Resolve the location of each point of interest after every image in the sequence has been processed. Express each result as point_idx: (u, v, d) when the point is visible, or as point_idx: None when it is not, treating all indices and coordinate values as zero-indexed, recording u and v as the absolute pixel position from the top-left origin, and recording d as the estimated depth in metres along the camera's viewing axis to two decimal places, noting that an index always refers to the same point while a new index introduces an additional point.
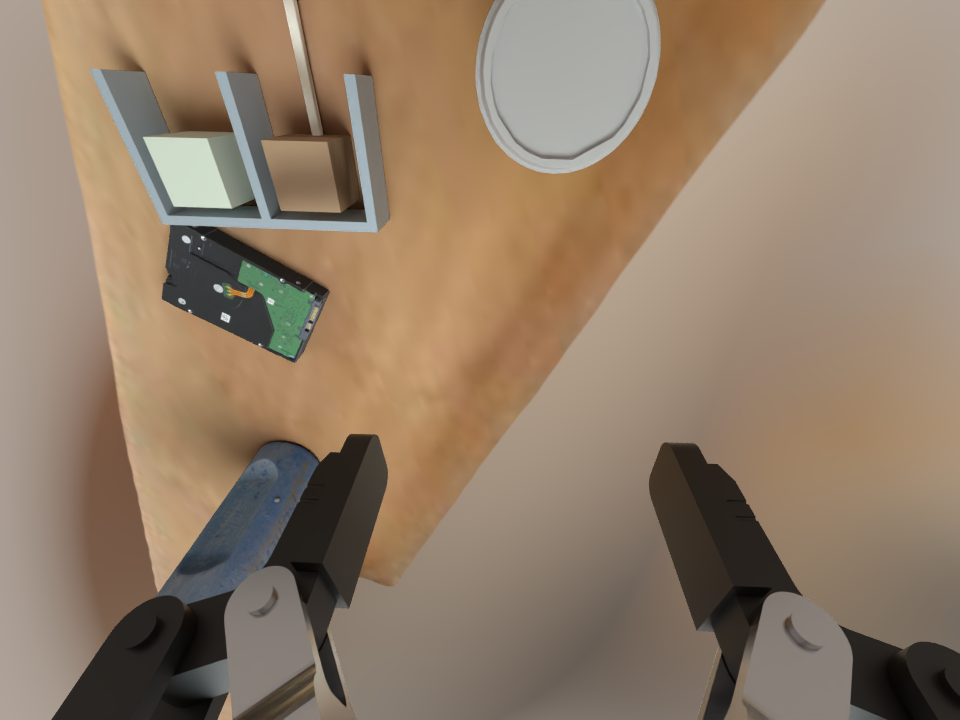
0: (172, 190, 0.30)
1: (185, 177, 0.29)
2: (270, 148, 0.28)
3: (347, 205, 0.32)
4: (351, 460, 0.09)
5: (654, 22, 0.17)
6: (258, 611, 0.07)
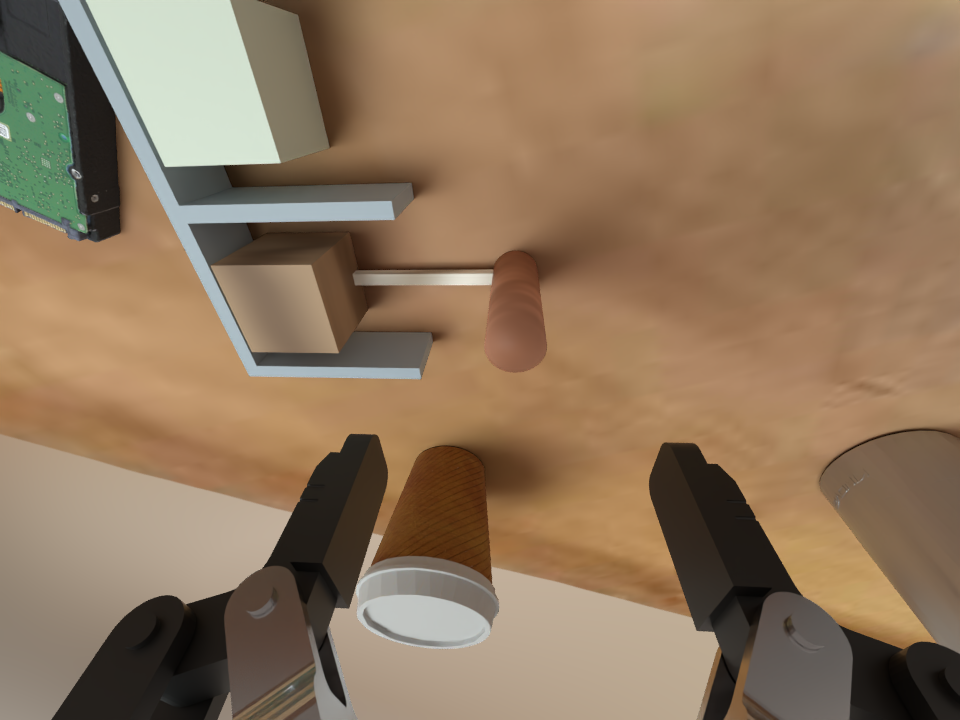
0: (128, 17, 0.13)
1: (180, 74, 0.13)
2: (304, 276, 0.18)
3: None
4: (351, 460, 0.09)
5: (458, 647, 0.26)
6: (258, 611, 0.07)
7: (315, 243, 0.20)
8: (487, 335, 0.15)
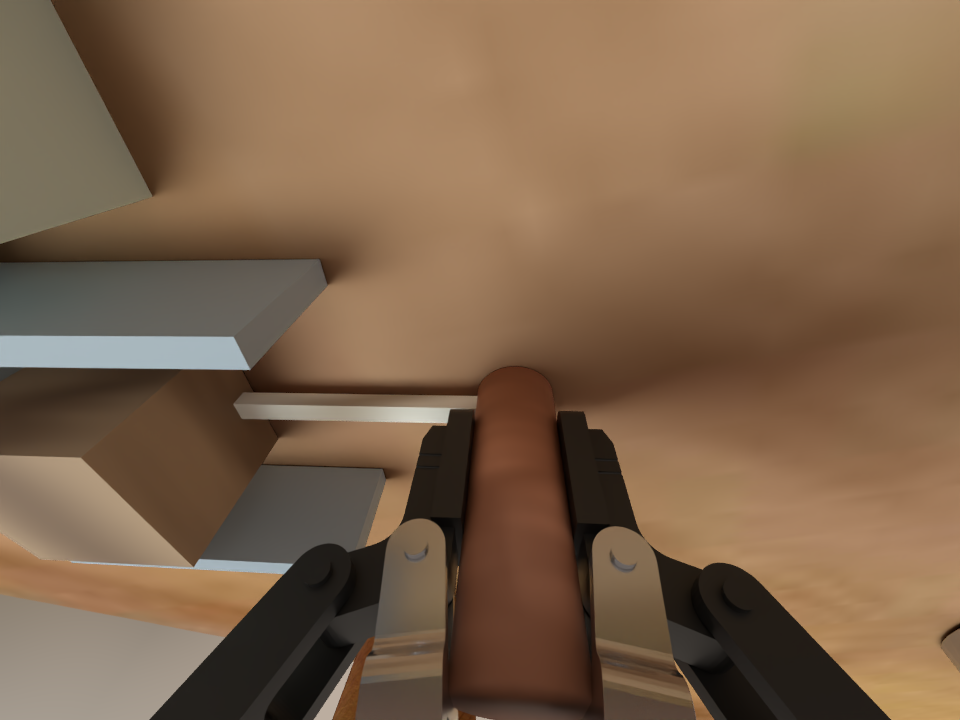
0: None
1: None
2: (76, 473, 0.08)
3: None
4: (460, 431, 0.10)
5: None
6: (417, 556, 0.07)
7: (142, 371, 0.11)
8: (451, 685, 0.06)
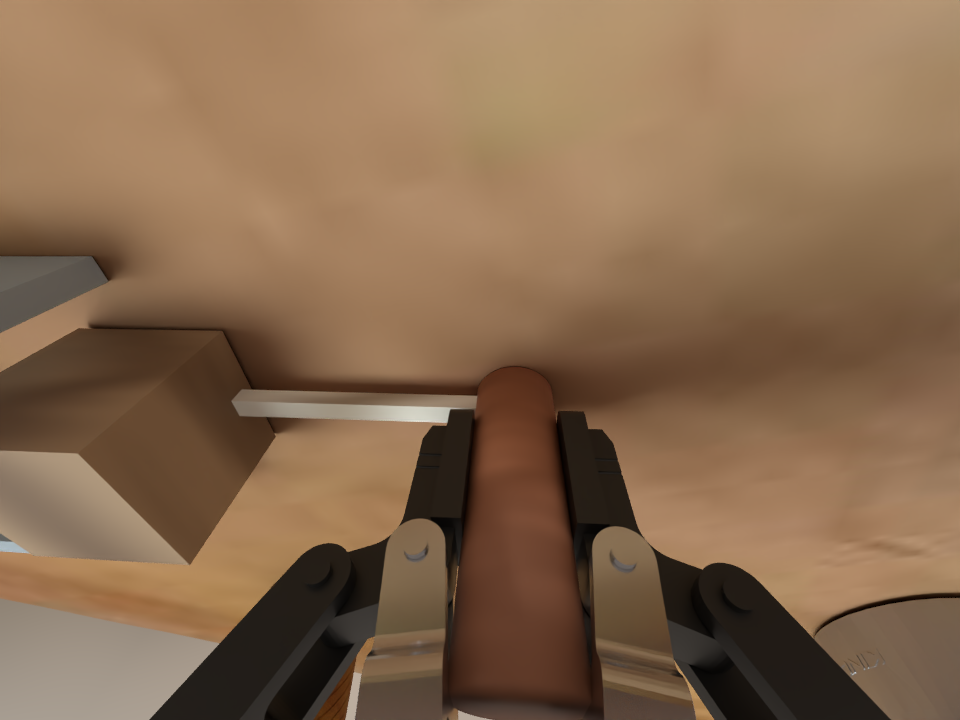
0: None
1: None
2: (72, 469, 0.08)
3: None
4: (460, 431, 0.10)
5: None
6: (418, 557, 0.07)
7: (140, 366, 0.11)
8: (451, 685, 0.06)
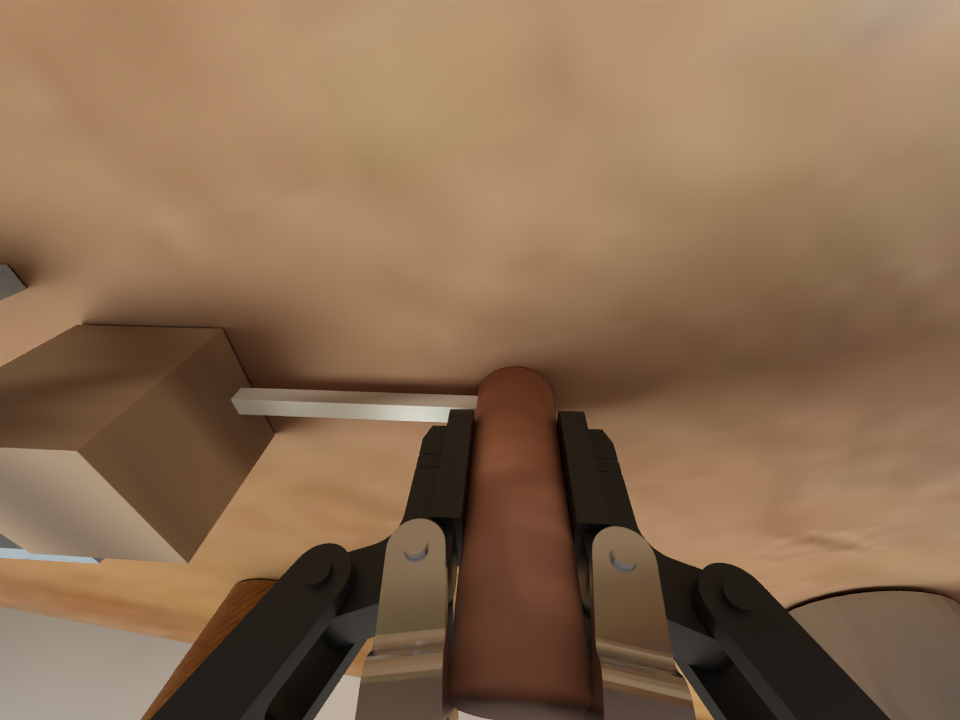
0: None
1: None
2: (71, 467, 0.08)
3: None
4: (460, 431, 0.10)
5: None
6: (418, 556, 0.07)
7: (139, 364, 0.10)
8: (452, 685, 0.06)
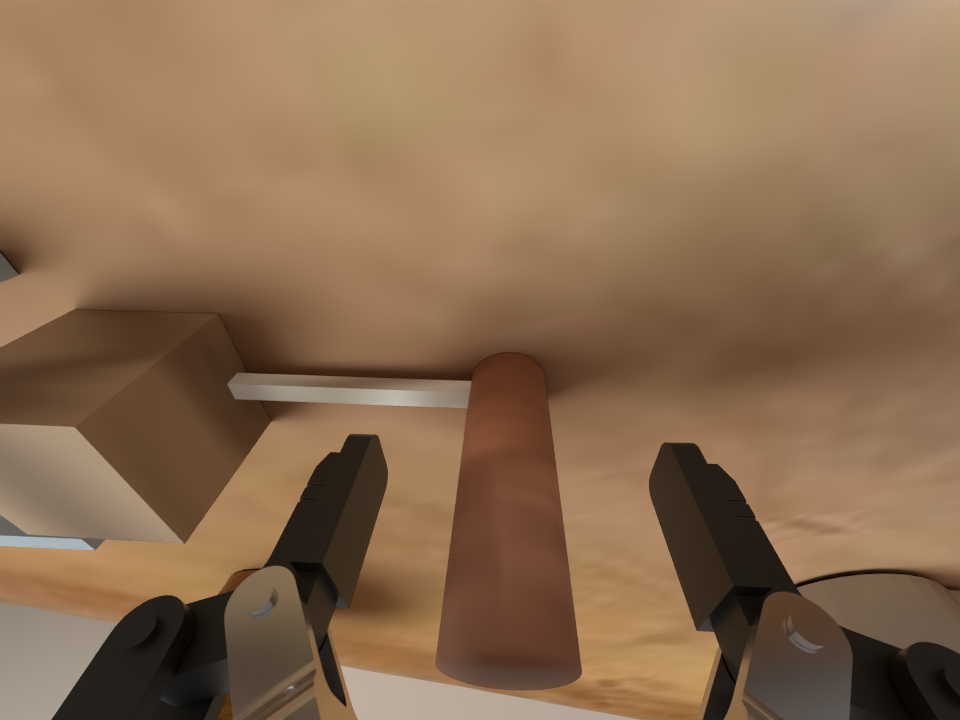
0: None
1: None
2: (69, 443, 0.08)
3: None
4: (351, 460, 0.09)
5: None
6: (258, 611, 0.07)
7: (136, 346, 0.11)
8: (441, 649, 0.06)
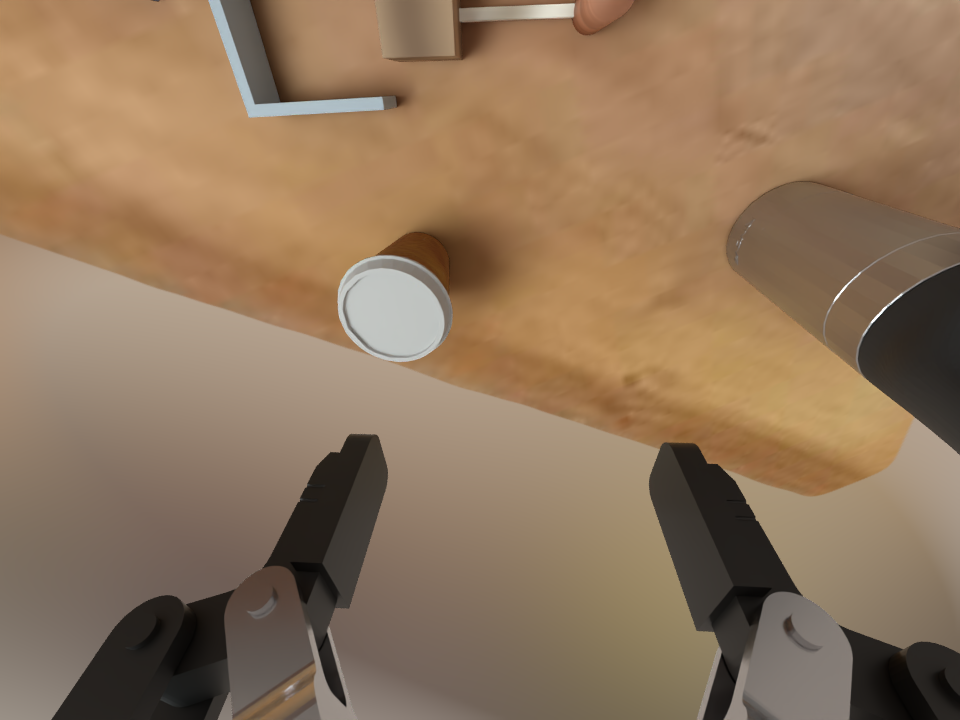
0: None
1: None
2: None
3: (391, 59, 0.27)
4: (351, 460, 0.09)
5: (421, 356, 0.32)
6: (258, 611, 0.07)
7: None
8: None
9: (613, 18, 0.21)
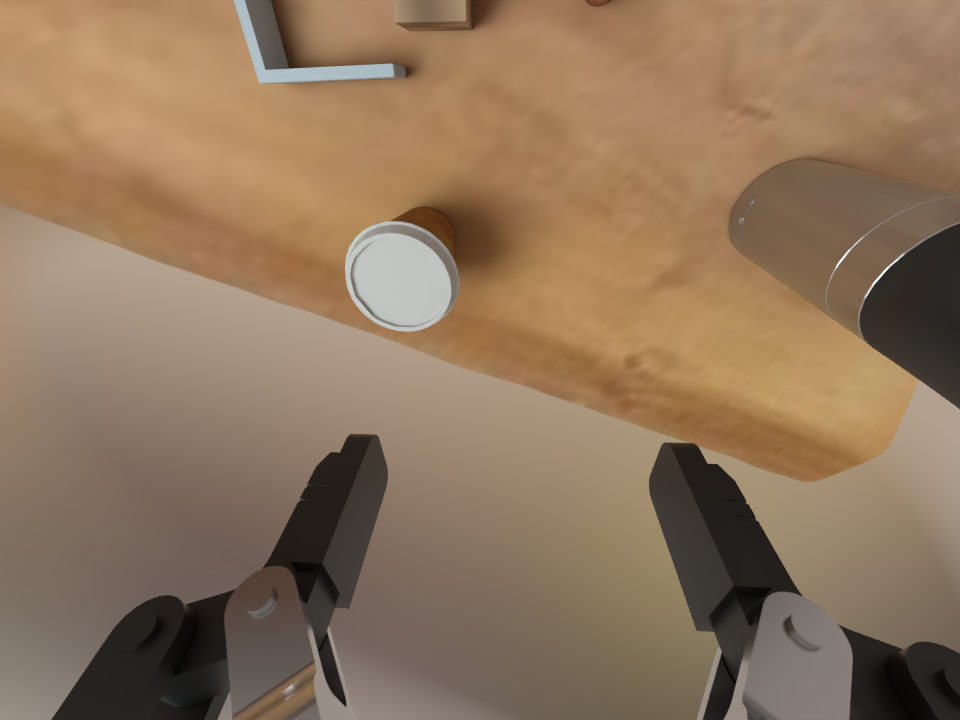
0: None
1: None
2: None
3: (402, 25, 0.27)
4: (351, 460, 0.09)
5: (427, 325, 0.32)
6: (258, 611, 0.07)
7: None
8: None
9: None
